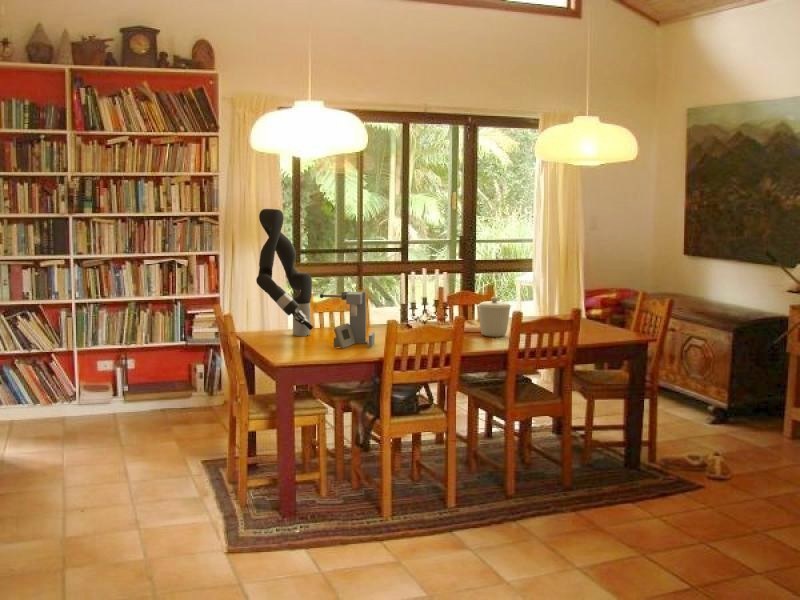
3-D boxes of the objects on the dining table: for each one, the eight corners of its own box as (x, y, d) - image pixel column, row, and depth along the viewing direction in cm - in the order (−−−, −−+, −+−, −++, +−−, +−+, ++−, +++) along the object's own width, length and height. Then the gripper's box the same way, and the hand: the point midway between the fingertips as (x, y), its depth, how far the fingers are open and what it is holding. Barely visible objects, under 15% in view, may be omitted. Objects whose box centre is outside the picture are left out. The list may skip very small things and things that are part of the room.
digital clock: (342, 349, 419) (342, 328, 418) (327, 348, 424) (327, 326, 423) (360, 344, 433) (360, 323, 432) (345, 343, 438) (345, 322, 437)
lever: (320, 297, 436) (320, 293, 436) (347, 298, 435) (347, 293, 434) (319, 298, 433) (319, 293, 433) (346, 298, 432) (346, 294, 432)
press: (342, 342, 440) (342, 291, 436) (375, 343, 438) (375, 292, 435) (337, 347, 426) (337, 294, 423) (371, 347, 425) (372, 295, 422)
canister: (499, 339, 452) (500, 299, 449) (470, 335, 462) (470, 296, 460) (516, 335, 466) (517, 296, 463) (488, 331, 477) (488, 293, 474)
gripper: (289, 300, 424) (314, 325, 425) (295, 296, 437) (319, 321, 438) (279, 311, 425) (304, 336, 426) (285, 307, 438) (309, 331, 439)
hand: (312, 328), depth 432 cm, fingers closed
